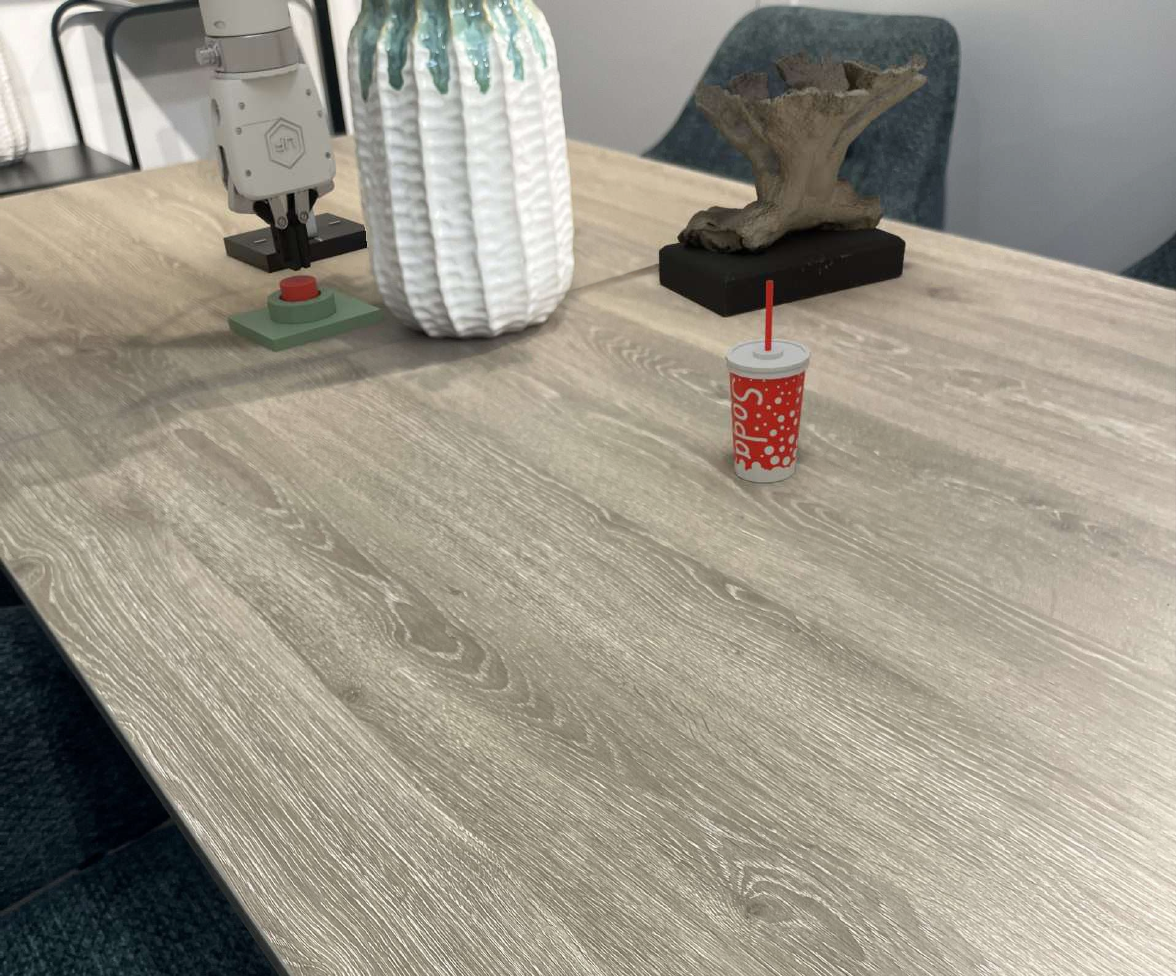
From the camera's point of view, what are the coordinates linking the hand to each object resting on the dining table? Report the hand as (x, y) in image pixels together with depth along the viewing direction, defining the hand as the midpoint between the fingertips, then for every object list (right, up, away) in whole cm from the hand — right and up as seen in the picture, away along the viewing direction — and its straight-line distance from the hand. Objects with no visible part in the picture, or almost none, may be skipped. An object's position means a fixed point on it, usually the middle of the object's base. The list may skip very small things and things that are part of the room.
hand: (296, 266), depth 125 cm
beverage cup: (+42, -27, -27) cm, 57 cm away
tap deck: (-5, +11, +26) cm, 29 cm away
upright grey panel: (-5, +14, +24) cm, 28 cm away
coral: (+51, +1, +7) cm, 52 cm away
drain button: (0, -2, +2) cm, 3 cm away
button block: (0, -5, +4) cm, 7 cm away
